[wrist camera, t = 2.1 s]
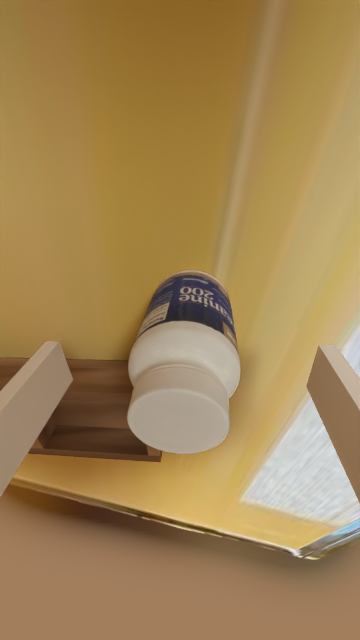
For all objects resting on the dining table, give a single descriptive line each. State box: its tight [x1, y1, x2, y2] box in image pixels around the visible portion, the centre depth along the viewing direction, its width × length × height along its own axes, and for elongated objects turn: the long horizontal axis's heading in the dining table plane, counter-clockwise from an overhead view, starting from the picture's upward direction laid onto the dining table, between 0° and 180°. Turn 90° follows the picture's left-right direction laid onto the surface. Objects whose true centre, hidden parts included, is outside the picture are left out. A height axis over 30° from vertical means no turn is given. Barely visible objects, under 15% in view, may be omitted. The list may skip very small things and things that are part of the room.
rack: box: [0, 358, 162, 462], centre depth 23 cm, size 9×24×4 cm, turn 93°
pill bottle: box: [127, 270, 240, 454], centre depth 14 cm, size 5×5×10 cm
